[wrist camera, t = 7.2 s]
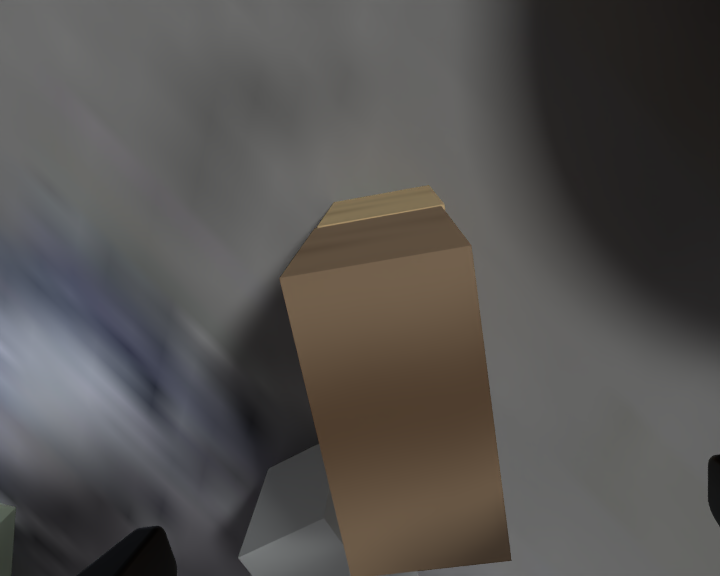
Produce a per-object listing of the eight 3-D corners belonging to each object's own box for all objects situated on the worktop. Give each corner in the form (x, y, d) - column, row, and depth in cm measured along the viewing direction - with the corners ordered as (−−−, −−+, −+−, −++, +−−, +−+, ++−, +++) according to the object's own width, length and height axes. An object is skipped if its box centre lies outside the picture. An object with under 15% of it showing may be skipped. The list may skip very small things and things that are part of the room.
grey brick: (416, 550, 23) (424, 658, 19) (350, 579, 24) (342, 689, 19) (337, 433, 22) (324, 518, 17) (268, 467, 23) (237, 557, 18)
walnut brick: (472, 430, 16) (511, 560, 11) (360, 446, 16) (351, 578, 11) (441, 205, 14) (471, 245, 9) (314, 228, 14) (279, 278, 9)
